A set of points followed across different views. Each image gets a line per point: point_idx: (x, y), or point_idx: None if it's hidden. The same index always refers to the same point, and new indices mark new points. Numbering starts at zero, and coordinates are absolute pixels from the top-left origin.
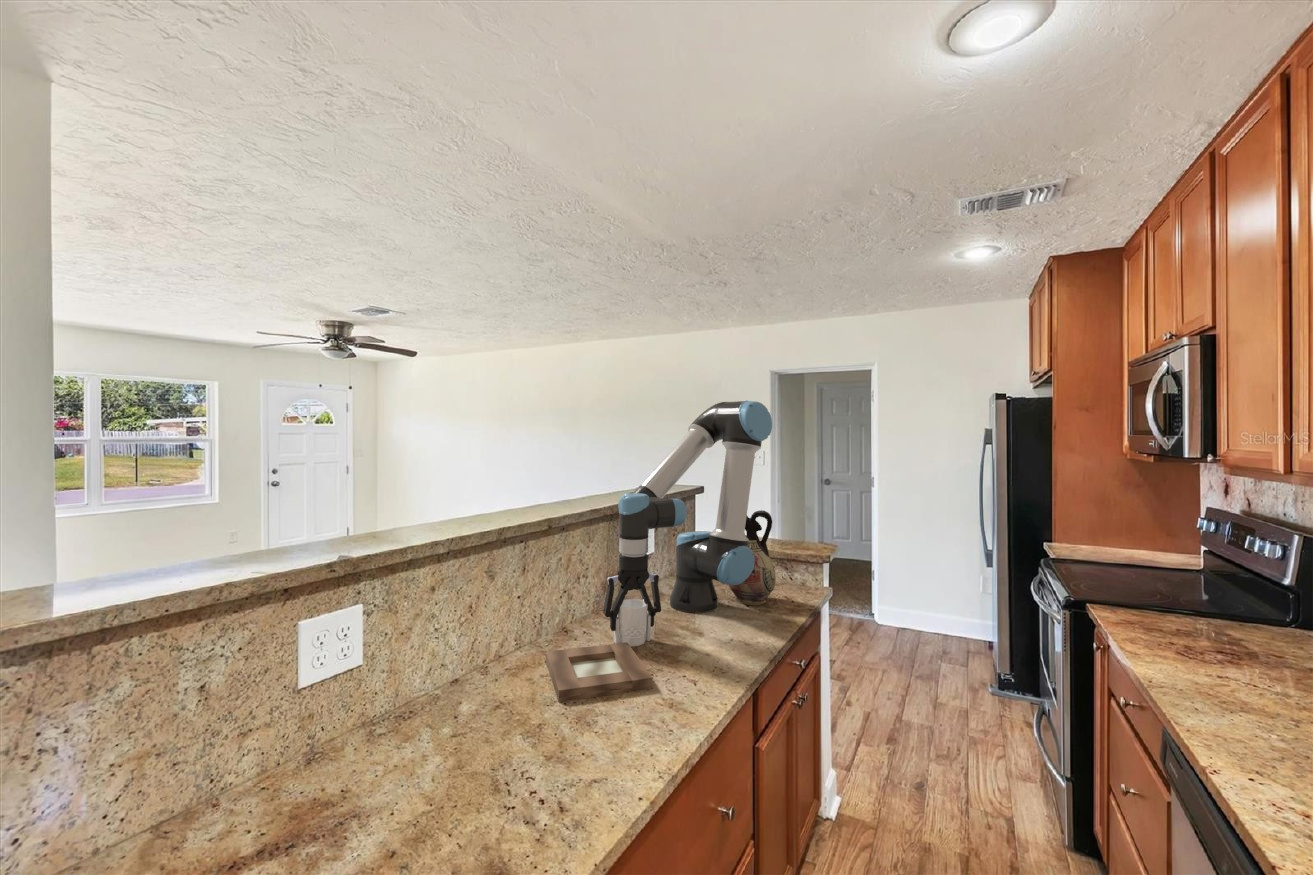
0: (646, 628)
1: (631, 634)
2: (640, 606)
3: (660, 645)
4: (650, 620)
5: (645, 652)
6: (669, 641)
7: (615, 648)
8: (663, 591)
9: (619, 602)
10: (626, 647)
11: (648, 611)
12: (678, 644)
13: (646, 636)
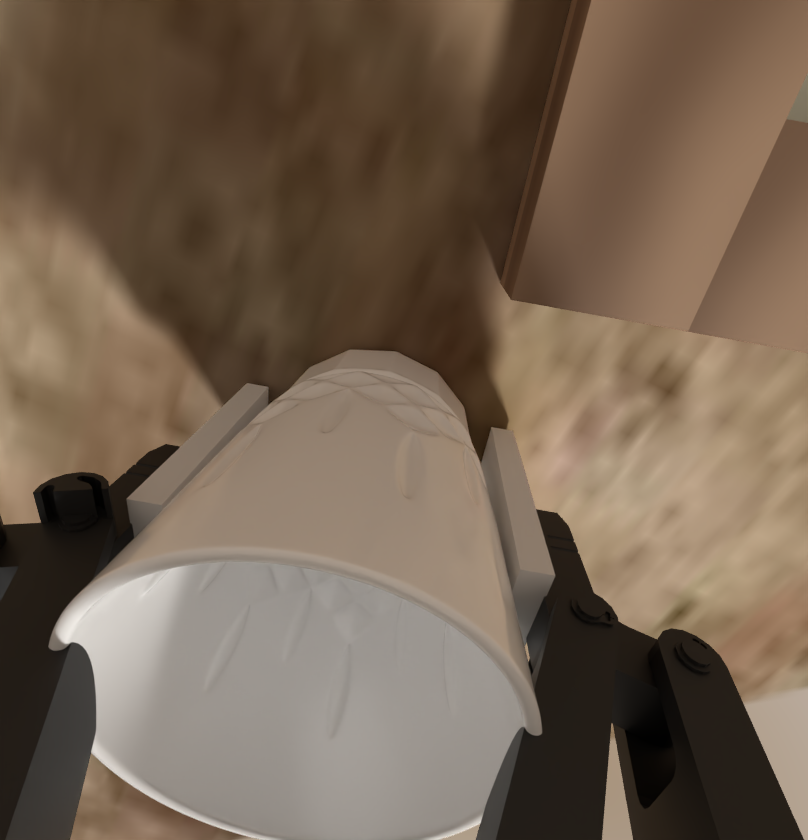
0: None
1: (418, 395)
2: (181, 686)
3: (194, 283)
4: (160, 468)
5: (362, 204)
6: (105, 322)
7: (712, 201)
8: None
9: (567, 824)
10: (595, 170)
11: None
12: (43, 234)
13: None
